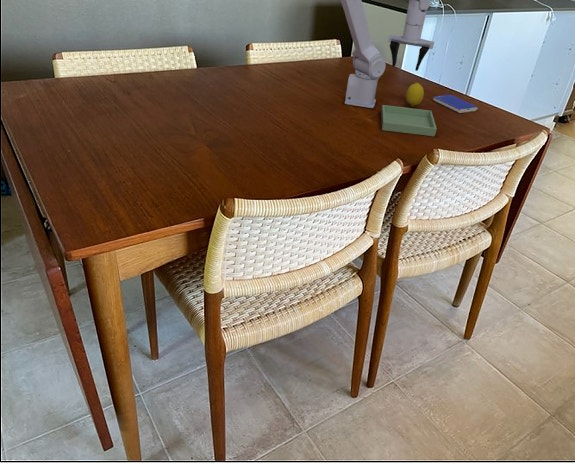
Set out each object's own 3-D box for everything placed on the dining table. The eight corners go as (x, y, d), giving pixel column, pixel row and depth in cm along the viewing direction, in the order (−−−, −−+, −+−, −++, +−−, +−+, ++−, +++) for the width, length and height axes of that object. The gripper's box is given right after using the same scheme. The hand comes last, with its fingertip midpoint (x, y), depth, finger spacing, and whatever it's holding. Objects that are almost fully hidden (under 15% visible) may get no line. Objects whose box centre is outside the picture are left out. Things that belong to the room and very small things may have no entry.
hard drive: (433, 96, 161) (460, 108, 152) (451, 94, 164) (478, 106, 155) (432, 100, 161) (458, 113, 153) (450, 98, 165) (476, 110, 156)
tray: (381, 130, 136) (383, 122, 135) (381, 112, 148) (382, 104, 147) (434, 136, 135) (436, 128, 133) (429, 117, 147) (431, 110, 146)
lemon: (422, 106, 156) (427, 82, 151) (418, 111, 152) (424, 86, 147) (405, 102, 158) (410, 79, 153) (401, 107, 153) (407, 83, 149)
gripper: (439, 25, 148) (429, 68, 156) (394, 18, 152) (386, 61, 160) (436, 29, 143) (425, 74, 150) (389, 22, 147) (381, 66, 155)
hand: (405, 67), depth 155 cm, fingers open, 7 cm apart
